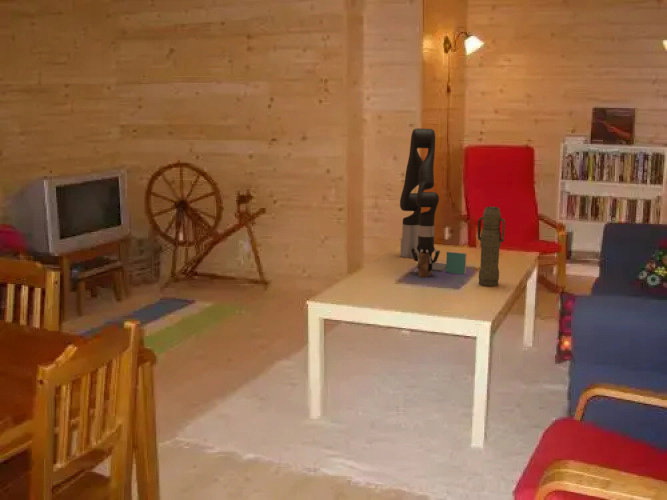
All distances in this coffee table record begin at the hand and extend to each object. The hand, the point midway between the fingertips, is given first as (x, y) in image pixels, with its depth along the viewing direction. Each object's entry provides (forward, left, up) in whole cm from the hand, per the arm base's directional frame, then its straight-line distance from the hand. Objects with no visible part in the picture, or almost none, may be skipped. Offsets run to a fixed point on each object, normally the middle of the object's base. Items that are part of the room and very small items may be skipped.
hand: (425, 270), depth 364 cm
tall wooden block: (0, 0, -2) cm, 2 cm away
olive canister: (+31, -4, -3) cm, 31 cm away
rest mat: (-1, +18, -2) cm, 18 cm away
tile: (+12, +11, -2) cm, 16 cm away
